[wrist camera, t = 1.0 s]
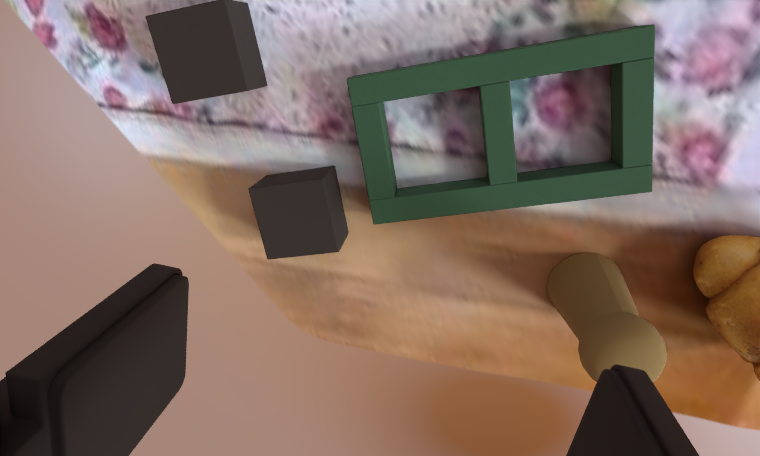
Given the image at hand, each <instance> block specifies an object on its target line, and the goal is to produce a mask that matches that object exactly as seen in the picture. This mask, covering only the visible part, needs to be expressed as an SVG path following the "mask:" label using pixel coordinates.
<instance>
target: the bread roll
mask: <svg viewBox="0 0 760 456" xmlns="http://www.w3.org/2000/svg"><path fill="white" fill-rule="evenodd" d="M693 275H694V279H695V282H696V284H697V287H698V288H699V289H700V291H701V292H702V293H703V295H704V296H706V297H708V303H707V305H706V308H705V311H706V314H707V316H708V318H709V320H710V321H711V322H712V324H713V326H714V327H715V329H716V330H717V331H718V332H719V333H720V334H721V335H723V337H724V338H725V340H726V341H727V343H728V344H729V345H730V346H731V347H732V348H733V349H734V350H735V351H736V352H737V353H738V354H739V355H740V356H741V358H742V359H743V360H744V361H746V362H748V363H752V364H753V366H754V372H755V374H756V376H757V378H758V379H759V380H760V237H755V236H745V235H727V236H722V237H718V238H716V239H712V240H710V241H708V242H707V243H705V244H704V245H703V246H702V247H701V248H700V249H699V250H698V252H697V255H696V258H695V261H694V267H693Z"/></svg>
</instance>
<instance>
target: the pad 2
mask: <svg viewBox="0 0 760 456" xmlns="http://www.w3.org/2000/svg"><path fill="white" fill-rule="evenodd" d="M249 193H250V197H251V200H252V204H253V208H254V211H255V215H256V219H257V222H258V226H259V230H260V233H261V237H262V241H263V244H264V248H265V252H266V255H267V259H277V258H286V257H296V256H305V255H314V254H323V253H332V252H339V250H340V248H341V247H342V245H343V243H344V241H345V239H346V237H347V235H348V228H347V223H346V218H345V214H344V209H343V204H342V199H341V194H340V190H339V185H338V180H337V175H336V170H335V166H330V167H322V168H315V169H308V170H301V171H294V172H287V173H280V174H273V175H267V176H265V177H264V178H263V179H261V180H260V181H258V182H257V183H256V184H254V185H253V186H252V187H250V188H249Z"/></svg>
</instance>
